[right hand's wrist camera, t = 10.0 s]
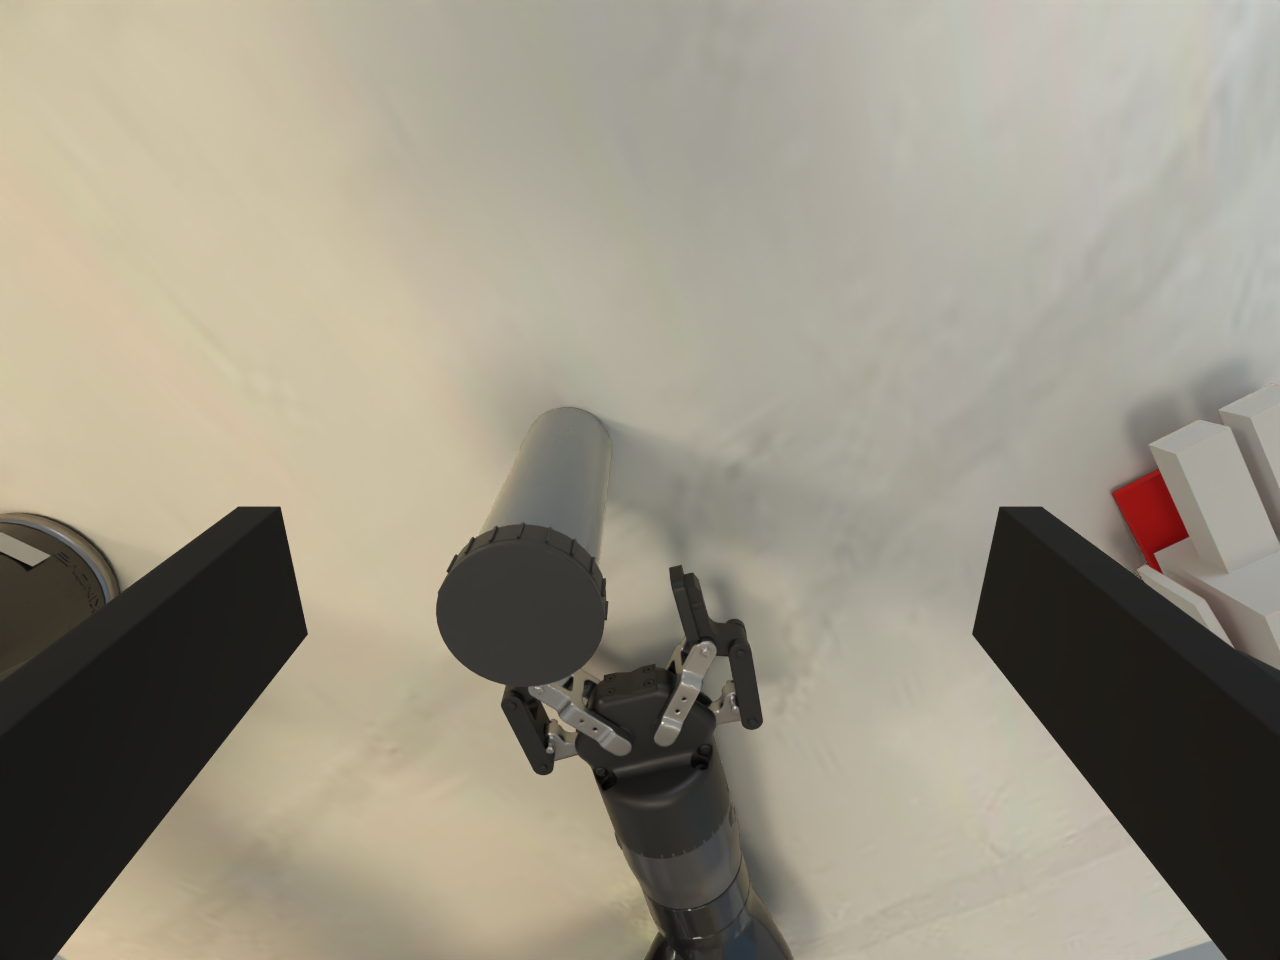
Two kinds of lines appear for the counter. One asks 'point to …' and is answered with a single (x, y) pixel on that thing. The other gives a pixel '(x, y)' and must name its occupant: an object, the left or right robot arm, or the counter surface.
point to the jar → (559, 479)
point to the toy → (1217, 522)
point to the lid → (522, 605)
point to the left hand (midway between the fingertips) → (599, 591)
